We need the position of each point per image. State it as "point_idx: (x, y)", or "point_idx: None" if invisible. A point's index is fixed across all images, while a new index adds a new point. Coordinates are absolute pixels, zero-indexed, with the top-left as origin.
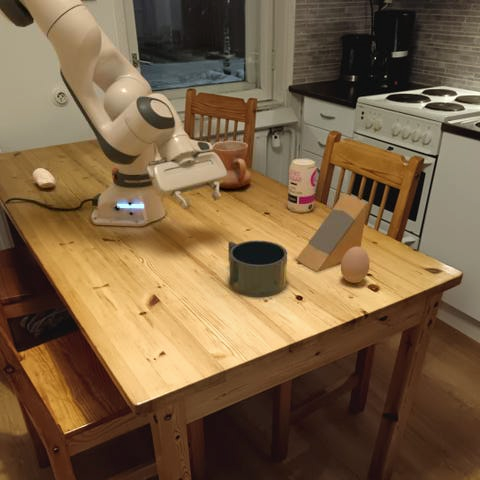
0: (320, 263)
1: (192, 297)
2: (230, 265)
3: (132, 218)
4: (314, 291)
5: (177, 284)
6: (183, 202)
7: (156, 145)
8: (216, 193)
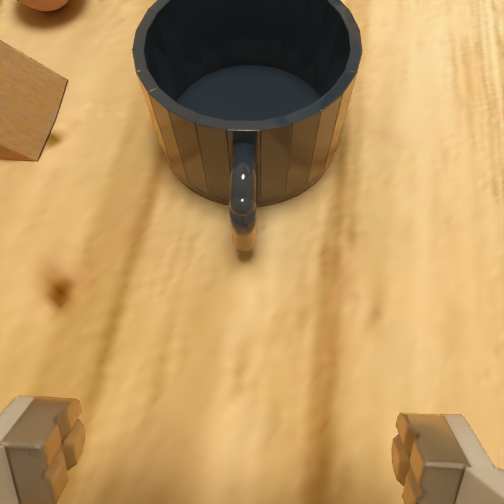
0: (38, 65)
1: (473, 181)
2: (348, 103)
3: None
4: None
5: (484, 275)
6: (483, 452)
7: None
8: (31, 428)
